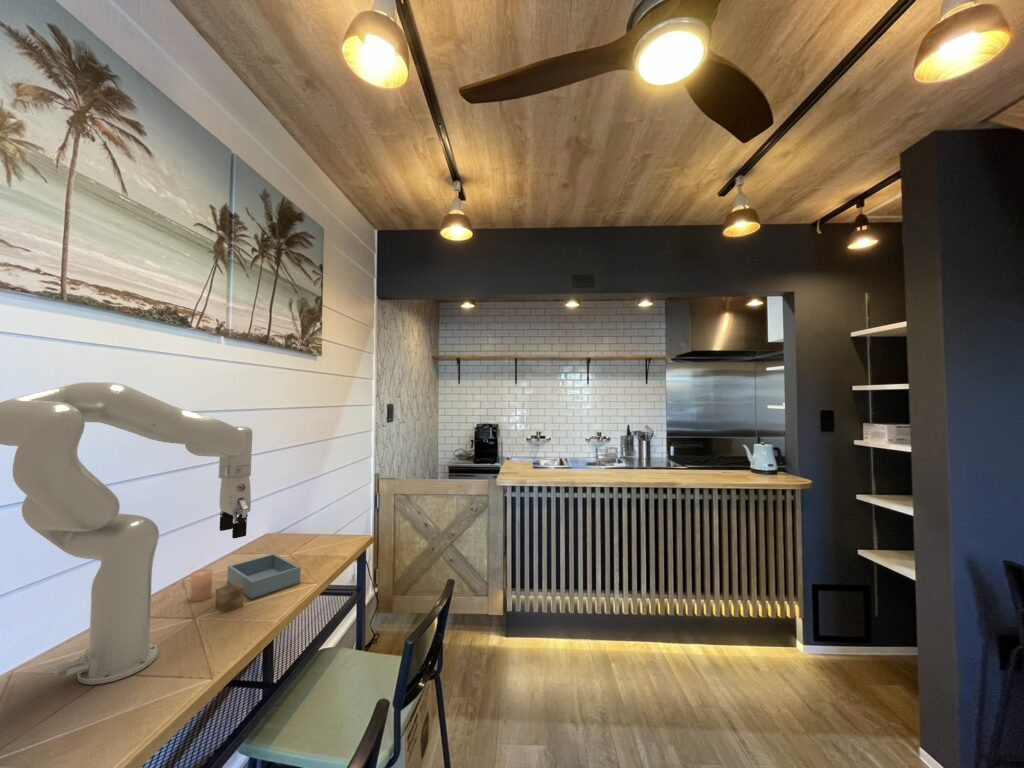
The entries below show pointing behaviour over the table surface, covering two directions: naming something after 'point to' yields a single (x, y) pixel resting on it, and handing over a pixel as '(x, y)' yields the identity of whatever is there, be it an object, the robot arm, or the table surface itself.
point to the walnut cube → (229, 597)
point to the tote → (264, 575)
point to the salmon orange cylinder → (200, 585)
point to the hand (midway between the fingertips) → (232, 533)
